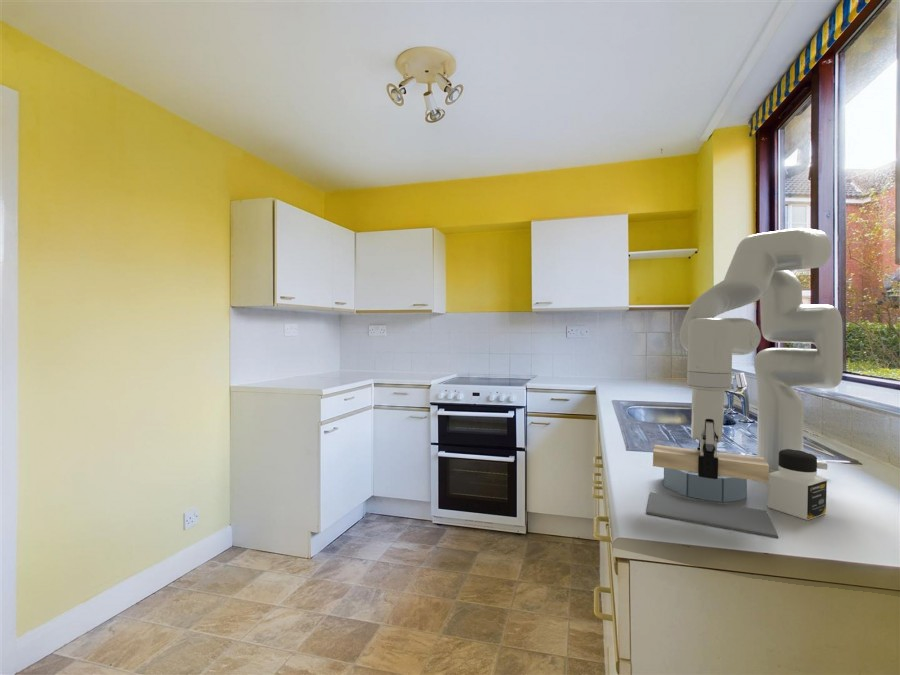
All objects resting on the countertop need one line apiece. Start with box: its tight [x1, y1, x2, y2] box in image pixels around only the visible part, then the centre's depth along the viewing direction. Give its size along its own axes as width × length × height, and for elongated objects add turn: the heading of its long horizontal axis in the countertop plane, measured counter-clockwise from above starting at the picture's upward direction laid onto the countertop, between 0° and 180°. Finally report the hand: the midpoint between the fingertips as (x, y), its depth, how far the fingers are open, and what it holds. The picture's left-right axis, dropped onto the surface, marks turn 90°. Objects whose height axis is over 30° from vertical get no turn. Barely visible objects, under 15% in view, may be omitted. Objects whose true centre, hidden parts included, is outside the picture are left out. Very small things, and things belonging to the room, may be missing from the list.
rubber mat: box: [646, 491, 779, 539], centre depth 87 cm, size 21×12×1 cm, turn 62°
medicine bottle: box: [767, 449, 828, 521], centre depth 88 cm, size 7×7×12 cm
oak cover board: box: [652, 444, 769, 483], centre depth 87 cm, size 6×19×3 cm, turn 62°
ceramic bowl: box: [663, 468, 748, 503], centre depth 101 cm, size 16×16×5 cm
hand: (706, 471), depth 87 cm, fingers closed on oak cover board, 6 cm apart
